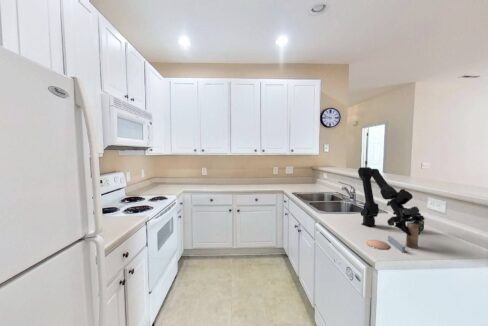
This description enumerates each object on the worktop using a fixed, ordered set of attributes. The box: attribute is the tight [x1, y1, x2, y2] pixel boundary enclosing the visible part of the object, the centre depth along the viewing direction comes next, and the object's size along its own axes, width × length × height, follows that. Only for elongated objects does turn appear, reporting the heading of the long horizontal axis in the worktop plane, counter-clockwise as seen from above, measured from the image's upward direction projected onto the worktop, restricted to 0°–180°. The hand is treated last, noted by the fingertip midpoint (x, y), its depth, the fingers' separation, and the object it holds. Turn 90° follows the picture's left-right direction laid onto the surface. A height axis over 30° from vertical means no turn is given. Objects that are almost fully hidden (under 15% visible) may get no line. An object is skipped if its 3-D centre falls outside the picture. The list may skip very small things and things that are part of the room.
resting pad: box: [365, 239, 390, 250], centre depth 124 cm, size 11×11×1 cm
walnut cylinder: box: [405, 223, 419, 249], centre depth 122 cm, size 5×5×12 cm
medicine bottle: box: [406, 211, 425, 233], centre depth 146 cm, size 7×7×12 cm
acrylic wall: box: [387, 235, 406, 253], centre depth 122 cm, size 14×1×3 cm, turn 174°
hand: (414, 235), depth 121 cm, fingers closed on walnut cylinder, 5 cm apart
